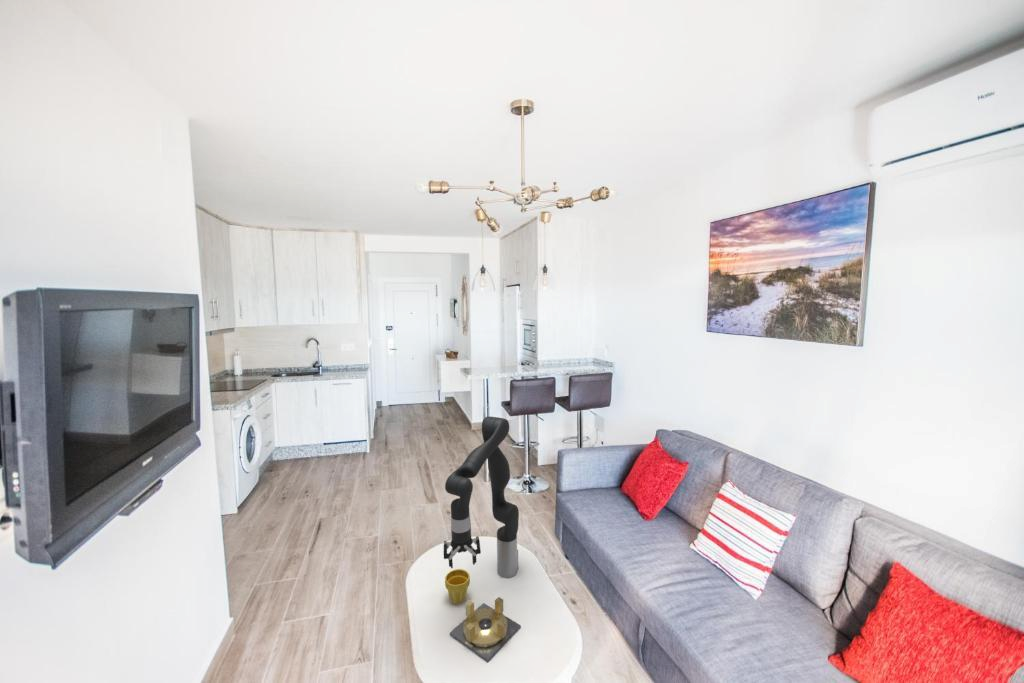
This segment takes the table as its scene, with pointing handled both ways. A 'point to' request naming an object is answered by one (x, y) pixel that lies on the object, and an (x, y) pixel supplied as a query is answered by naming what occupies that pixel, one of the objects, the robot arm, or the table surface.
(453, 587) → the plant pot
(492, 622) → the pegged brass disc
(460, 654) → the table surface
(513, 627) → the flange plate
